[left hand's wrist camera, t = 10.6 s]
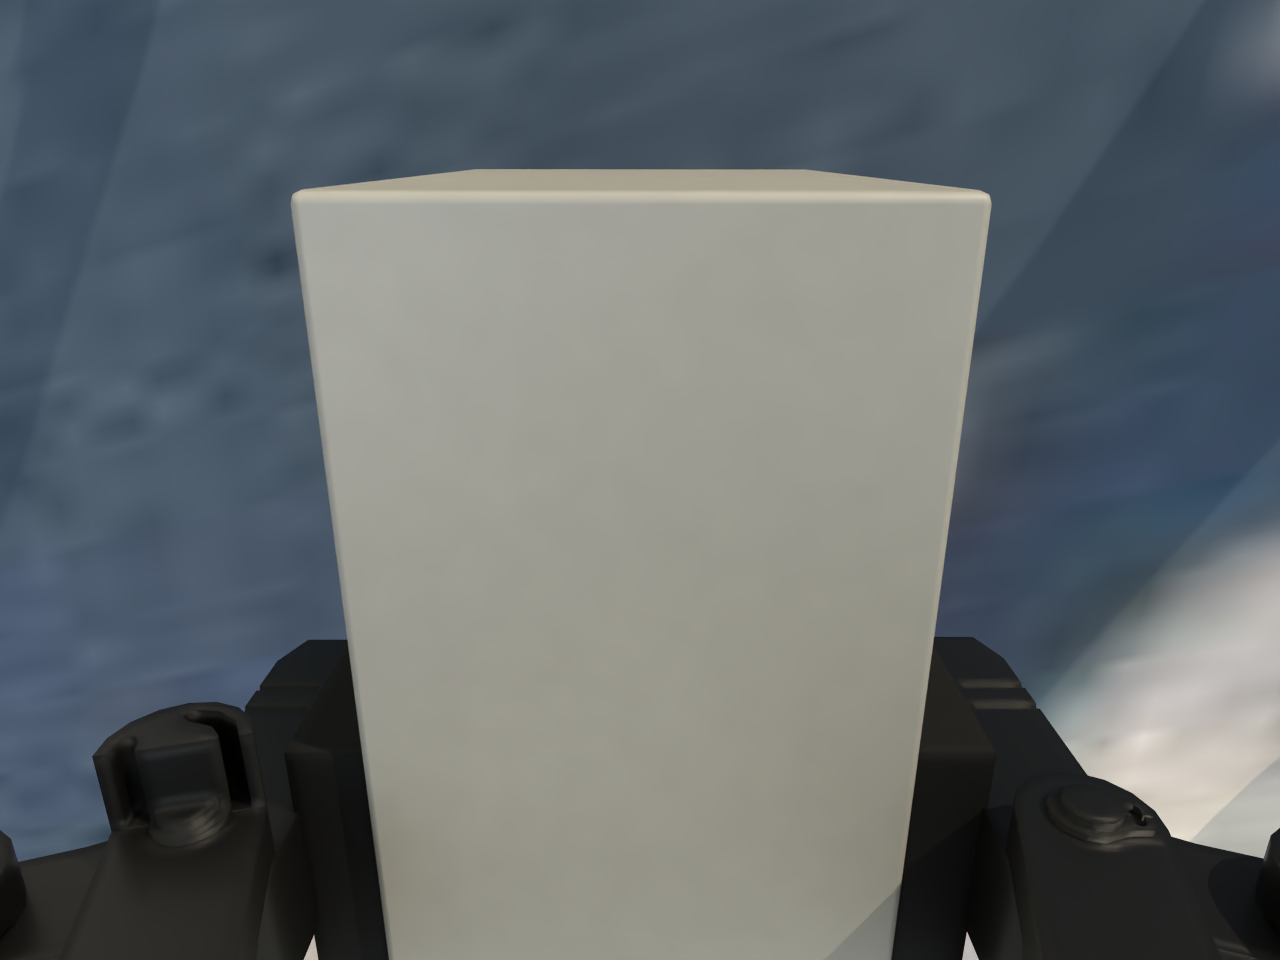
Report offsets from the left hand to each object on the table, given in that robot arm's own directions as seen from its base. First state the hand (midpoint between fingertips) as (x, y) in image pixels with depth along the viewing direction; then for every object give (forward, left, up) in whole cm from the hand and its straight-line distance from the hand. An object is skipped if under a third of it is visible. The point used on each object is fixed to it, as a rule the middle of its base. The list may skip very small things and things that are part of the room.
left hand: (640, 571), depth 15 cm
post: (+6, +19, -1) cm, 20 cm away
